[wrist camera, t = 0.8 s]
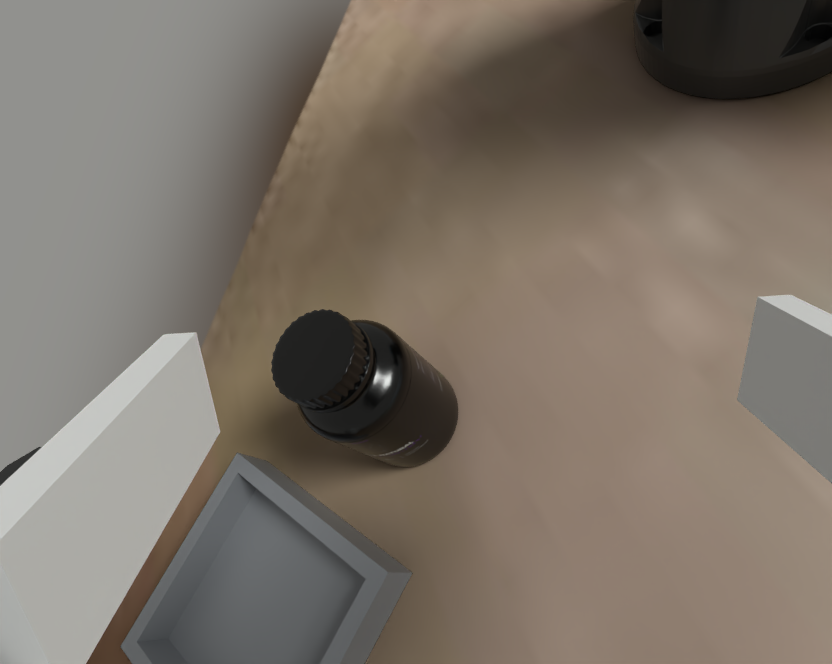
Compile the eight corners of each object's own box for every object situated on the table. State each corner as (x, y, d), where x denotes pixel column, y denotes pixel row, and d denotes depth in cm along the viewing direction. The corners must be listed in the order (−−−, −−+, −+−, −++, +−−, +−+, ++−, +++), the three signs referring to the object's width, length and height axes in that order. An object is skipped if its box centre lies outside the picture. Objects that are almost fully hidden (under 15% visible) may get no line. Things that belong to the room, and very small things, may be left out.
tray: (266, 460, 39) (237, 452, 36) (412, 572, 31) (388, 572, 29) (159, 641, 37) (120, 646, 34) (288, 809, 29) (249, 831, 27)
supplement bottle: (412, 492, 33) (296, 456, 23) (351, 423, 37) (229, 367, 27) (483, 409, 33) (399, 338, 23) (415, 349, 37) (318, 266, 27)
